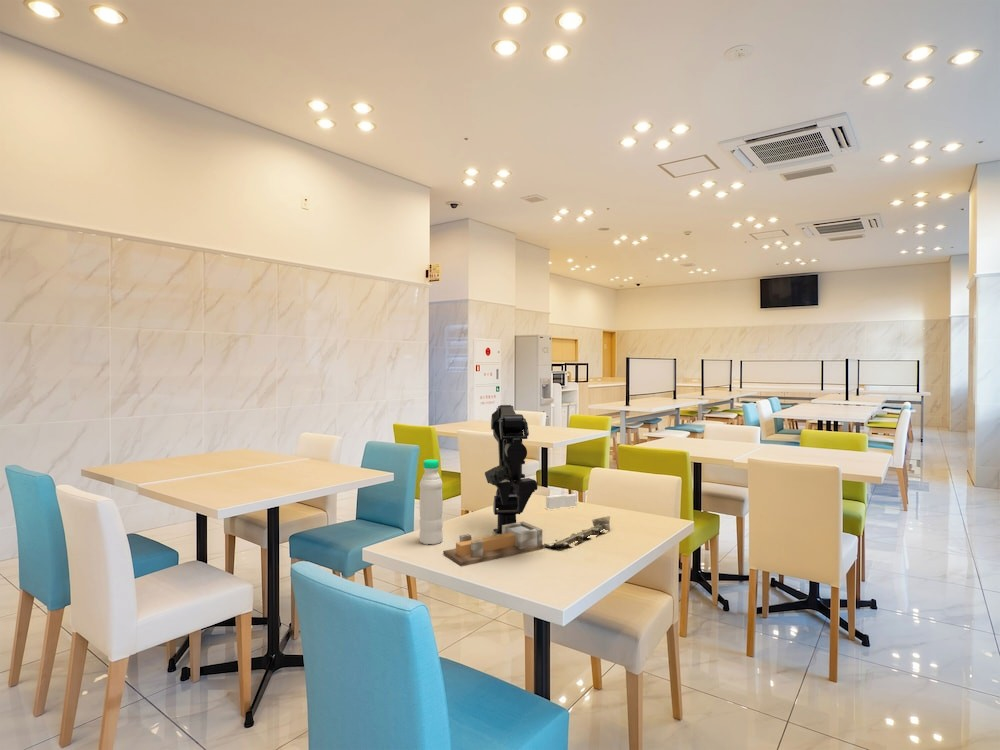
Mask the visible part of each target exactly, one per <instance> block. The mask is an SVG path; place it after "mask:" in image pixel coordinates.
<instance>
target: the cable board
mask: <svg viewBox="0 0 1000 750" xmlns="http://www.w3.org/2000/svg"><path fill="white" fill-rule="evenodd" d="M520 526H522V527H525V528H527V529H529V530H527V531H522V532H518V546H511V547H506V548H501V549H496V550H491V551H486V552H483V541H481V540H478V541H473V542H471V555H467V556H462V557H461V556H459V555H457V554H456V548H451V549H446V550H443V552H442V554H443V555H444V556H445V557H446V558H448V559H450V560H451V561H453V562H454V563H456V564H458V565H459V566H460V567H463V566H468V565H472V564H477V563H482V562H487V561H491V560H498V559H501V558H505V557H510V556H514V555H520V554H524V553H529V552H533V551H538V550H543V549H544V548H545V546H544V543H543V529H542V528H540V527H537V526H535V525H532V524H530V523H528V522H525V521H519V522H516V523H512V524H506V525H502V534H506V533H508V529H509V528H514V527H520ZM469 540H472V535H471V534H470V533H466V534H461V535H459V542H463V541H469Z"/></svg>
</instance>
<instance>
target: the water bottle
mask: <svg viewBox="0 0 1000 750" xmlns="http://www.w3.org/2000/svg"><path fill="white" fill-rule="evenodd" d="M422 465H423V470H424V473H423V475H422V477H421V480H420V481H419V517H420V519H419V542H420V543H421V544H423V545H428V544H432V545H437V544H439V543H442V541H443V540H444V538H443V537H444V535H443V526H444V525H443V505H444V503H443V500H444V499H443V480H442V478H441V476H440V473H439V472H438V470H439V466H440V463H439V460H438V459H425V460H423V463H422Z"/></svg>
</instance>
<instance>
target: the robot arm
mask: <svg viewBox="0 0 1000 750" xmlns="http://www.w3.org/2000/svg"><path fill="white" fill-rule="evenodd" d="M490 418H491V419H490V430H492V433H493V438H494V439H495V441H496V442H497V447H498V465H496V466H494V467H493V468H490V469H489V470H487V471H485V472H484V476H485V479H486V482H487V483H488V484H491V485H492V486H495V487H496V491H495V495H494V496H493V504H492V508H493V509H492V510H493V514H494V516H497V528H494V529H493V532H495V533H498V535H501V534H502V525H506V524H512V523H517V515H521V514H522V513H523V512H524V510H525V508H526V506H527V504H528V502H529V499H530V498H531V496H533V493H535V491H537V490H538V482H537V481H536V479H534V478H530V477H526V474H525V473H523V465H526V464H525V463H526V461H525V460H526V459H527V455H528V450H527V446H525V445H524V444H523V440H528V437H529V435H530V432H529V425H528V422H527V419H526V418H525V417H524V415H523V414H519V413H517V412H516V411H515V410H514V405H511V404H500V405H498V406H497V409H496V411H494V412H493V413H492V414H491V417H490Z"/></svg>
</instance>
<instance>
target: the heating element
mask: <svg viewBox="0 0 1000 750" xmlns="http://www.w3.org/2000/svg"><path fill="white" fill-rule="evenodd" d="M610 521H611V515H607V516H603V517H598V518H594V519H591V522H592V525H593V526H594V527H593V526H592V527H590V528H588V529H582V530H581V531H582V532H581V531H579V532H576V533H577V534H576V533H572V534H571V535H569V536H570V537H569V536H568V537H566V538H562V539H563V540H562V539H560V540H558V539H557V538H556V539H555V540H554V541H555V542H551V543H550V544H548V543H543V545H544V548H551V547H554V548H555V549H557V548H561V549H562V548H564V547H566V548H572V546H570V545H571V543H572V544H573V545H574V546H575V547H576V546H577V545H578V544H579V543H581V542H583V540H585V539H588V540H589V538H587V537H588V536H590V535H597V537H599V534H600V533H601V534H604V533H603V532H604V531H603V532H600V531H601V530H603V529H605V530H609V531H610V530H611V528H610V527H611V525H610ZM575 541H578V542H575ZM573 542H574V543H573Z"/></svg>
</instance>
